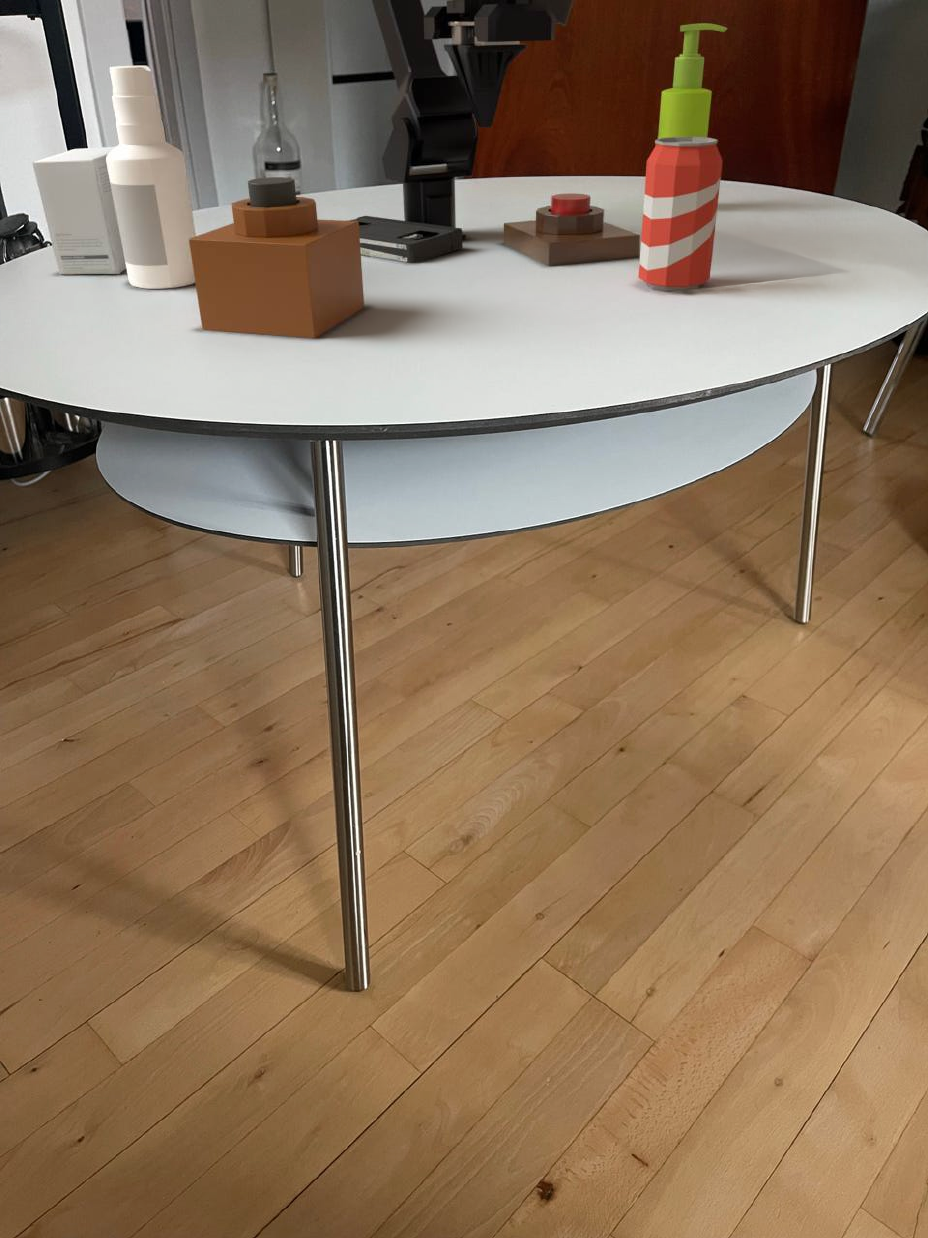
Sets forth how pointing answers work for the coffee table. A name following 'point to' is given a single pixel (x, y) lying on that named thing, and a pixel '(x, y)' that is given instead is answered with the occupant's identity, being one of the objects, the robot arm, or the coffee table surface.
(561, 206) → the red button
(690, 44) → the soap dispenser
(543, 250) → the switch box
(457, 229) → the vhs tape
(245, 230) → the brown push button box
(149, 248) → the spray bottle
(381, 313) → the coffee table surface
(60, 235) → the cosmetics box
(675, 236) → the beverage can
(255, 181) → the dark grey button
